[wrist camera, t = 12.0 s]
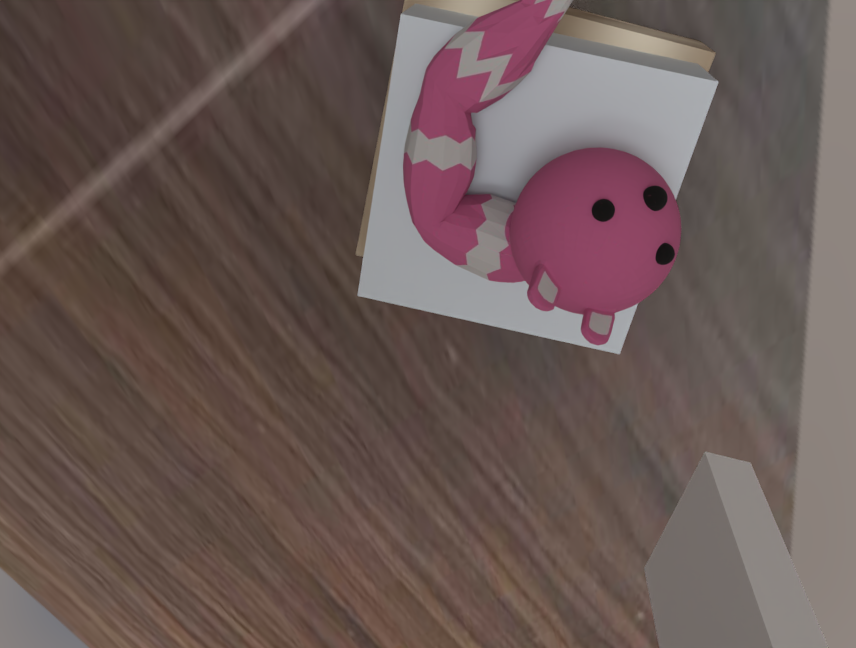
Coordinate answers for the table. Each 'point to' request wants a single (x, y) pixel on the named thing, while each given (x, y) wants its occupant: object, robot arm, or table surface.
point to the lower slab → (572, 24)
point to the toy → (533, 186)
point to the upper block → (524, 160)
